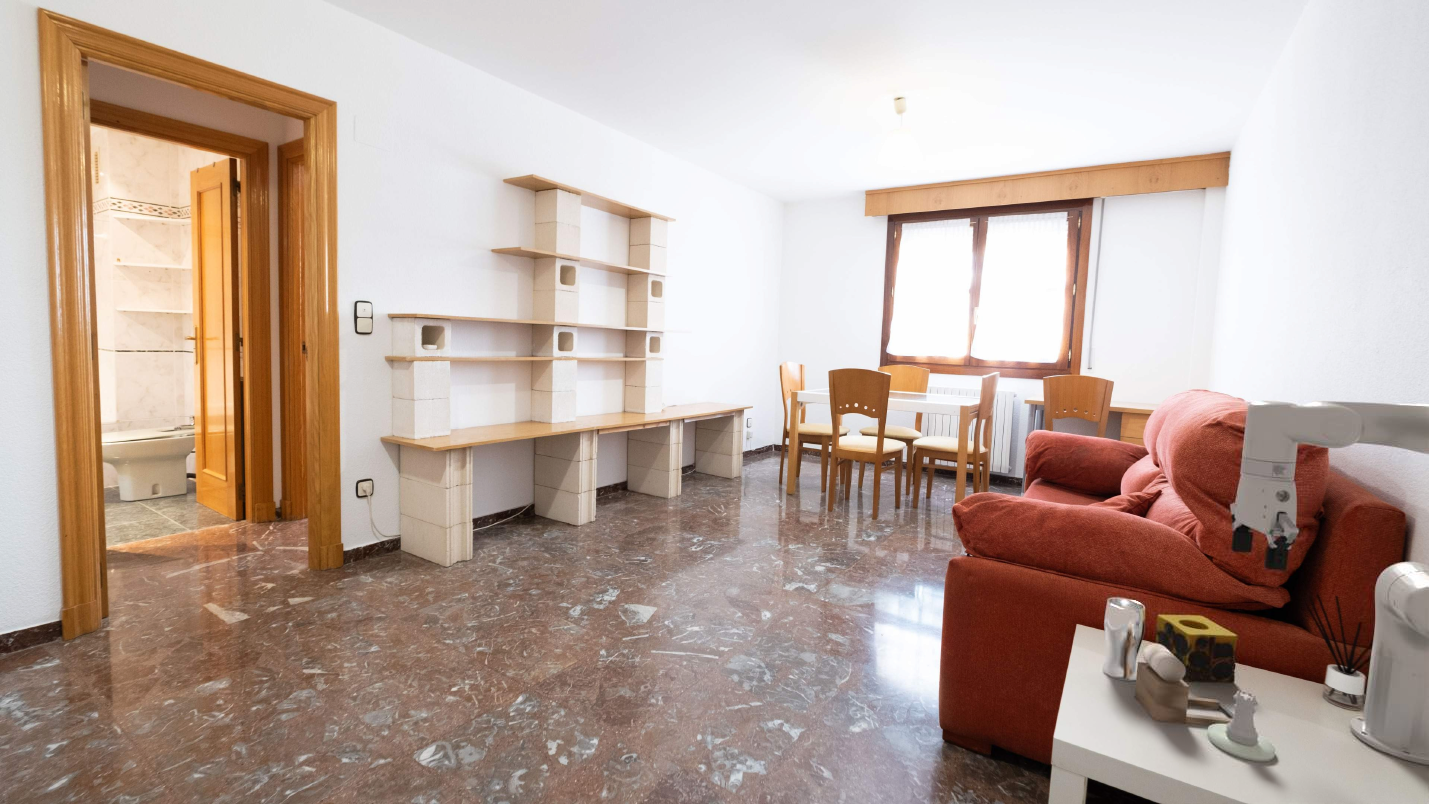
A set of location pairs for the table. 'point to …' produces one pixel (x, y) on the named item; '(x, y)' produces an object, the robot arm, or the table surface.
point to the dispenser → (1170, 690)
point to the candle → (1199, 646)
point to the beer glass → (1123, 637)
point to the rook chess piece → (1243, 720)
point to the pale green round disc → (1254, 753)
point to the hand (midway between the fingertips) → (1257, 560)
